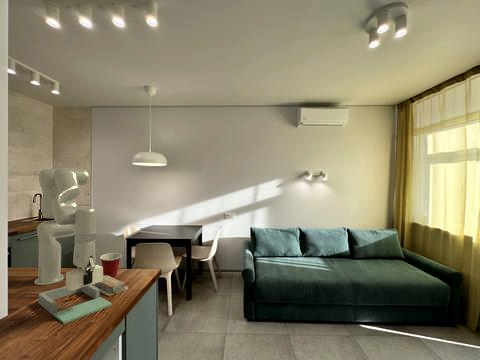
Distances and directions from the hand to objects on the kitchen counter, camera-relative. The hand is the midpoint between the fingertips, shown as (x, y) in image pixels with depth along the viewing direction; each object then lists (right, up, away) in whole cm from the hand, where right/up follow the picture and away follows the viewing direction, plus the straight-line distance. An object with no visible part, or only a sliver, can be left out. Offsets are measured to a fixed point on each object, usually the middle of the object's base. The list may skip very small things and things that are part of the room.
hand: (84, 281), depth 104 cm
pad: (0, -12, 0) cm, 12 cm away
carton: (0, -1, 0) cm, 1 cm away
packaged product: (-1, -13, +22) cm, 25 cm away
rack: (-12, -12, +8) cm, 18 cm away
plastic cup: (-8, -12, +36) cm, 39 cm away
